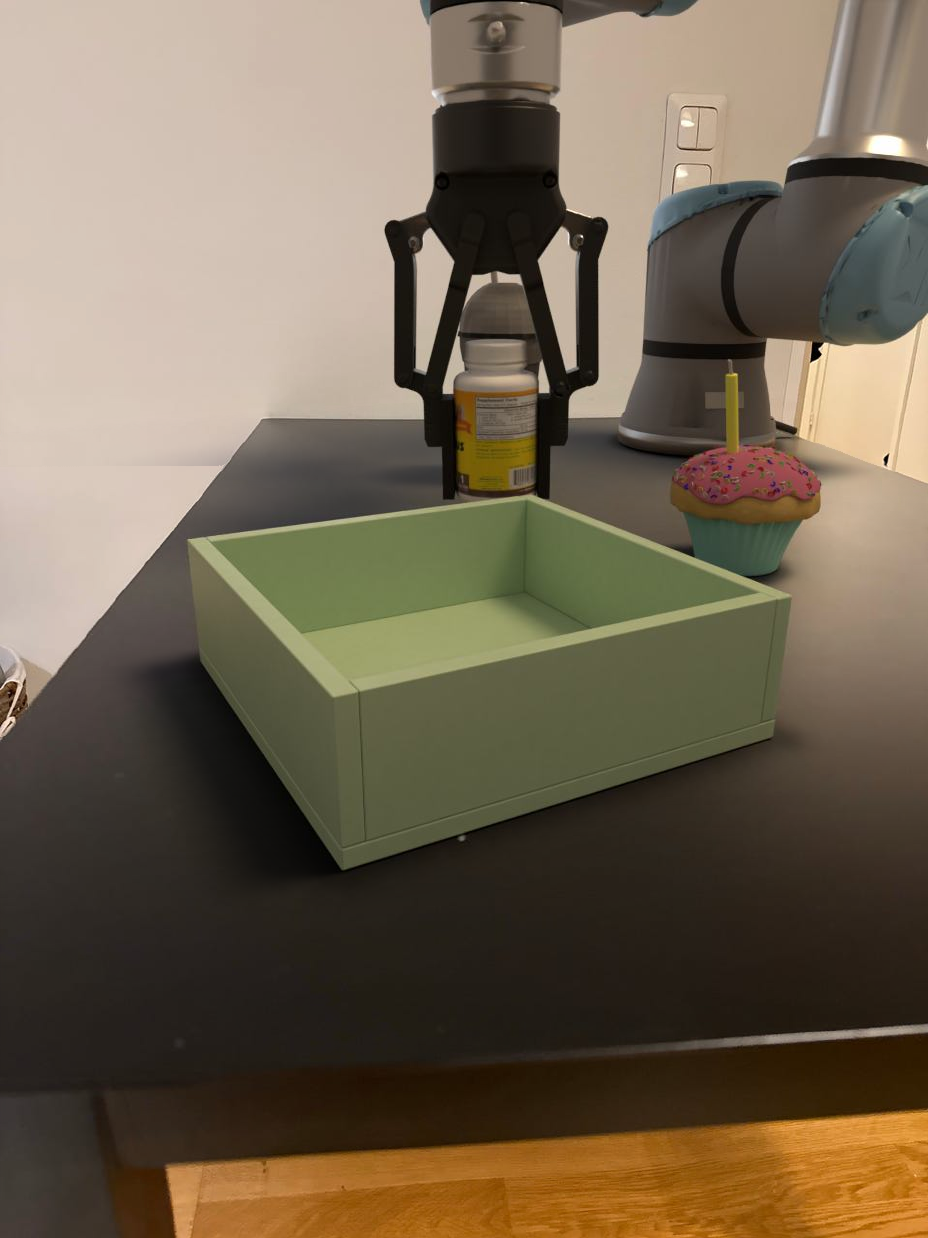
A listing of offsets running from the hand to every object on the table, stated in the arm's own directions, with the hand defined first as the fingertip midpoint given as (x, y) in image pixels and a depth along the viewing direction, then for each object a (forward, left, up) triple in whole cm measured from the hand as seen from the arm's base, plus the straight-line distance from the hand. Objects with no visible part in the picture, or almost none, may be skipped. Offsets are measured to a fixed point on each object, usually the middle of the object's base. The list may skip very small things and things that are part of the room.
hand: (496, 493), depth 62 cm
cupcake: (-9, +14, -3) cm, 17 cm away
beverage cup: (-9, -14, -3) cm, 17 cm away
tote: (+14, +22, -2) cm, 26 cm away
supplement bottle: (0, 0, -1) cm, 1 cm away
